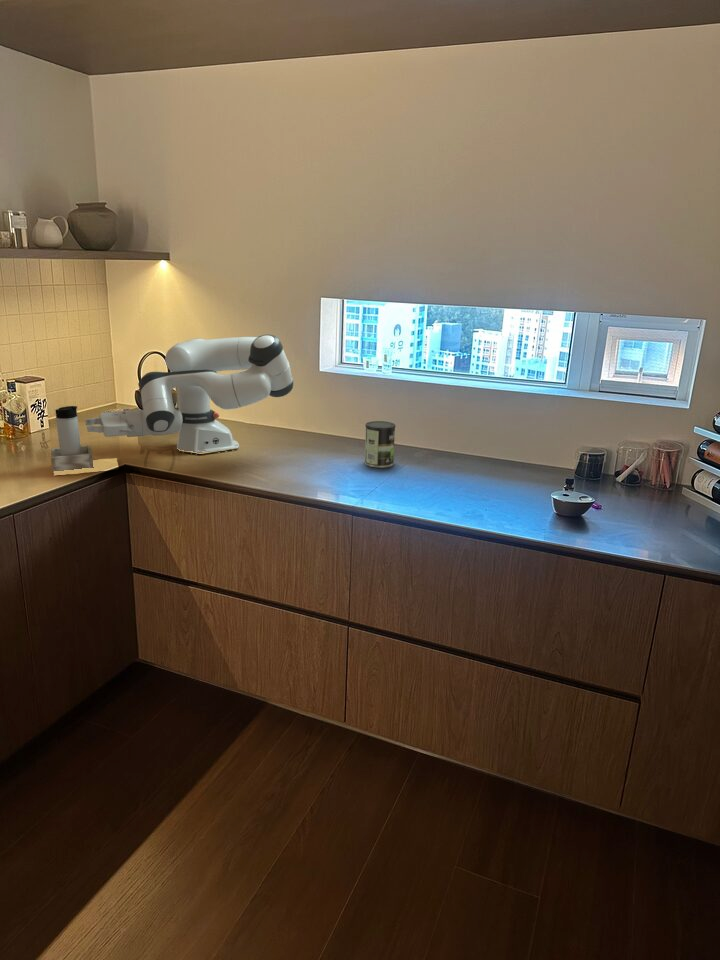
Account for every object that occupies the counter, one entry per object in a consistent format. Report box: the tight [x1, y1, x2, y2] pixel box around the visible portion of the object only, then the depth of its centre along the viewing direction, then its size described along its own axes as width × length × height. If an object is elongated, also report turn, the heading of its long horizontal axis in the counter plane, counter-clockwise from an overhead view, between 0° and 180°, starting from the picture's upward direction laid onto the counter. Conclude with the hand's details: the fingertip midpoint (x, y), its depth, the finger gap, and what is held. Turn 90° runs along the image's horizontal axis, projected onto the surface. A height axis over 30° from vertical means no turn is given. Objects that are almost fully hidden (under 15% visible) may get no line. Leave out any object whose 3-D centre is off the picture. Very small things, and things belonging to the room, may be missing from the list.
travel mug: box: [55, 405, 82, 456], centre depth 215 cm, size 6×7×20 cm
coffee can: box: [364, 420, 396, 469], centre depth 233 cm, size 10×10×14 cm
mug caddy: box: [50, 445, 94, 473], centre depth 220 cm, size 20×12×6 cm, turn 114°
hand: (86, 425), depth 216 cm, fingers open, 8 cm apart
